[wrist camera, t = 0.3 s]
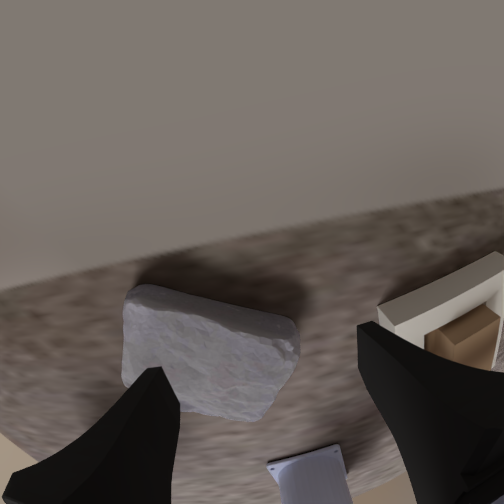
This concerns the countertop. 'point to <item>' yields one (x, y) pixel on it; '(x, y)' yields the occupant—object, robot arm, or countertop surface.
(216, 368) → the stone block
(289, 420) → the countertop surface
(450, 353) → the string block
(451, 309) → the frame
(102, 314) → the countertop surface
